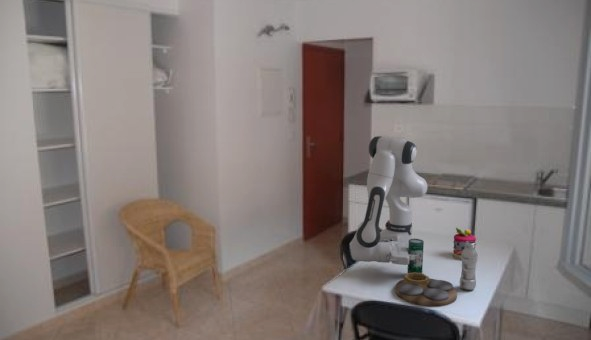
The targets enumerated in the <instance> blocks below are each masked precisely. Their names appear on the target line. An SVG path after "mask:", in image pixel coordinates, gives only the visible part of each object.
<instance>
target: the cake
mask: <svg viewBox="0 0 591 340" xmlns="http://www.w3.org/2000/svg"><path fill="white" fill-rule="evenodd" d="M455 230H456V234H454V235H453V250H452V252H453V257H452V258H453V259H456V260H459V261H462V258H461V254H462V251H463V250H464V249H465V248H466V247H465V242H466V241H472V242H474V243H475V246H476V245H477V243H476V240H477V237H476V236H475V235H473V234H472V231H471V229H467V228H466V229H465V230H464V231H462V229H460V228H459V227H455ZM474 249H475V250H476V247H475V248H474Z"/></svg>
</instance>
